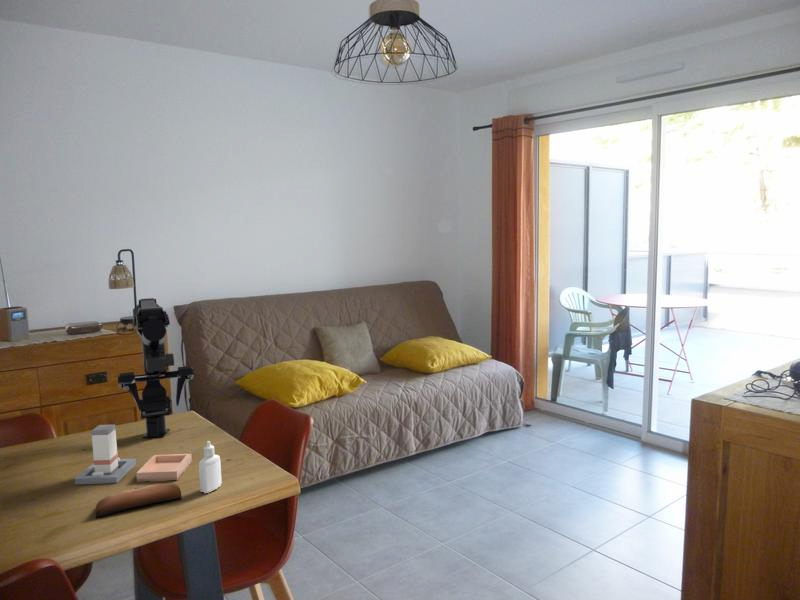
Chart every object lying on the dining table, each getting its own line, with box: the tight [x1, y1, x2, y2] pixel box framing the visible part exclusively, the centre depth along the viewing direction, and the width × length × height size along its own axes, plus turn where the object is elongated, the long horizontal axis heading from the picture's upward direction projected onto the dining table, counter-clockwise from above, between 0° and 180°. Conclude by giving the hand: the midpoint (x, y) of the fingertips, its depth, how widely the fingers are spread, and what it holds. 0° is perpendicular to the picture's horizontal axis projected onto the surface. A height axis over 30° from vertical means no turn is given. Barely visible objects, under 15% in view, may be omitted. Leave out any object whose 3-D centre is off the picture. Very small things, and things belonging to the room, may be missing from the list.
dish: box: [135, 453, 193, 483], centre depth 153 cm, size 12×10×2 cm
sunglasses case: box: [95, 482, 182, 518], centre depth 135 cm, size 18×7×7 cm
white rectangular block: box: [90, 423, 119, 475], centre depth 152 cm, size 5×4×12 cm
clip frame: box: [74, 456, 137, 485], centre depth 152 cm, size 12×10×2 cm
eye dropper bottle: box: [198, 440, 223, 494], centre depth 141 cm, size 4×6×12 cm
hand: (159, 408), depth 155 cm, fingers open, 9 cm apart
